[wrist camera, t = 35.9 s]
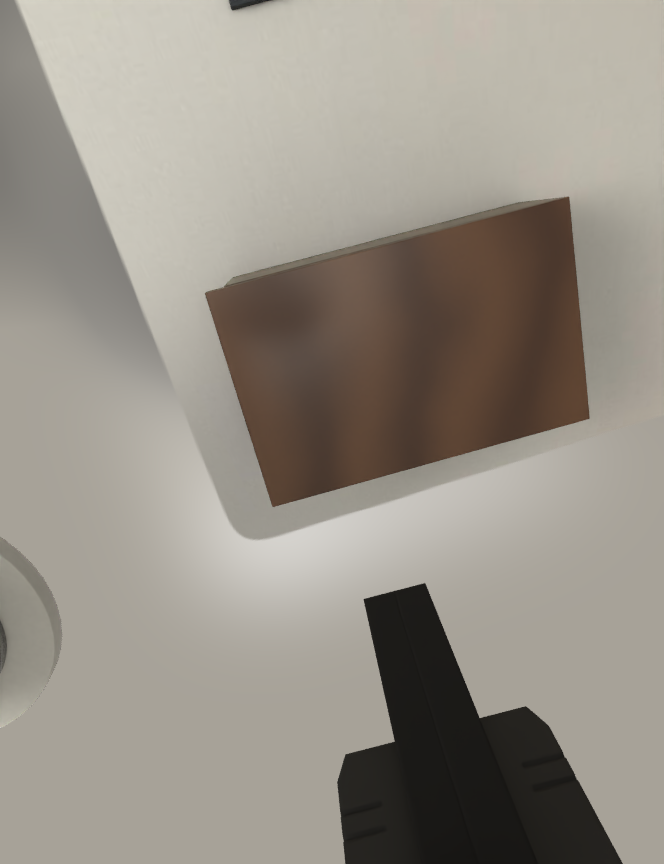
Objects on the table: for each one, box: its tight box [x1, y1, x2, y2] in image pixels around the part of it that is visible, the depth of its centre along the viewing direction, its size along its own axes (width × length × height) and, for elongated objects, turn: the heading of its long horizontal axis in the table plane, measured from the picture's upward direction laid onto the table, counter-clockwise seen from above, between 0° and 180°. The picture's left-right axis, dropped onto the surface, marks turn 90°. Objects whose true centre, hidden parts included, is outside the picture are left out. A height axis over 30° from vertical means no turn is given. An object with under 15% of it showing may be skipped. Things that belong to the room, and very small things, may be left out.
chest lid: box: [205, 197, 589, 507], centre depth 37 cm, size 23×15×1 cm, turn 104°
